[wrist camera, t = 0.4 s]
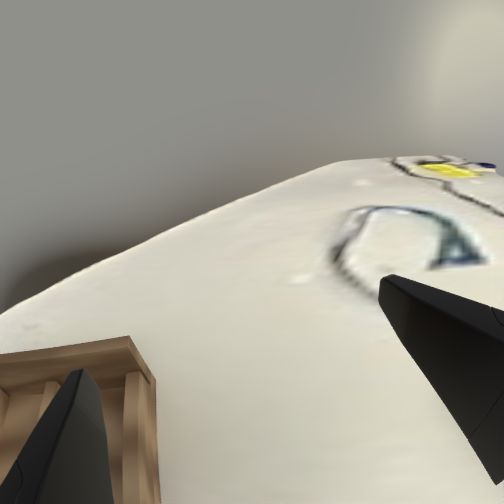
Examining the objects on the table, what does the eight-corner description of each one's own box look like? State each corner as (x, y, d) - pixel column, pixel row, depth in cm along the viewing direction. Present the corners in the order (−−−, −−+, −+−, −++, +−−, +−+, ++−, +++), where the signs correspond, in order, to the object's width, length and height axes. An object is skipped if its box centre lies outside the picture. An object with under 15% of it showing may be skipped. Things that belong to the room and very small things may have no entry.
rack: (166, 551, 14) (124, 543, 10) (-9, 521, 12) (-58, 495, 9) (155, 379, 27) (129, 335, 23) (13, 392, 25) (-20, 356, 22)
